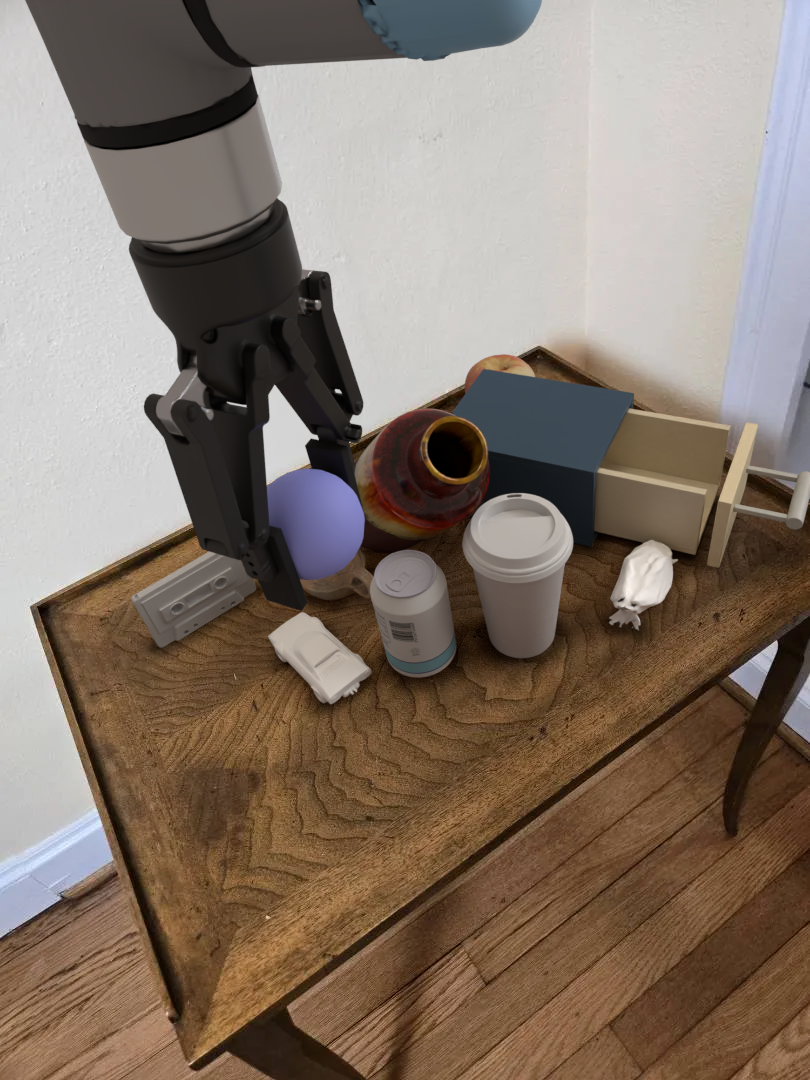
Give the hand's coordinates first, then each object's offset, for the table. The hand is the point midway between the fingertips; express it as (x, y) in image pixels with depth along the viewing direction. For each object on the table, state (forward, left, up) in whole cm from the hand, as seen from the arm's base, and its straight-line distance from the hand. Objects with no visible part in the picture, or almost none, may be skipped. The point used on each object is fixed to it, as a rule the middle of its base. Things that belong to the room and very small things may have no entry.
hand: (318, 558), depth 53 cm
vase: (+14, -26, -24) cm, 38 cm away
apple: (+9, -50, -27) cm, 57 cm away
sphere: (0, 0, 0) cm, 1 cm away
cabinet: (0, -38, -26) cm, 46 cm away
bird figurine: (-15, -27, -27) cm, 41 cm away
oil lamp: (+15, -17, -27) cm, 35 cm away
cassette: (+26, -8, -27) cm, 38 cm away
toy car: (+11, -7, -27) cm, 30 cm away
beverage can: (+2, -12, -27) cm, 29 cm away
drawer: (-17, -38, -26) cm, 48 cm away
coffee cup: (-6, -18, -27) cm, 33 cm away
